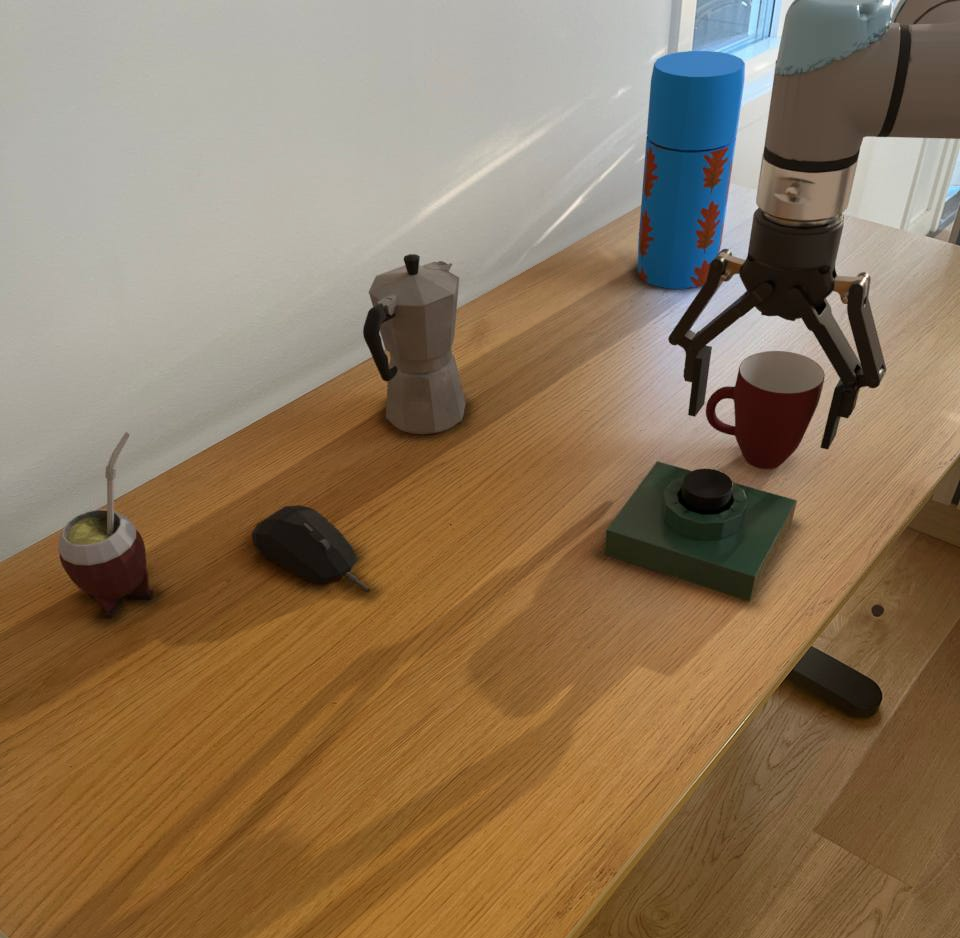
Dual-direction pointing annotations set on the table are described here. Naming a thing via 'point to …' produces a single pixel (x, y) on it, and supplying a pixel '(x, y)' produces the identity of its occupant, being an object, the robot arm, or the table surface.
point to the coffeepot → (417, 345)
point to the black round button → (706, 491)
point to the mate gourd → (106, 551)
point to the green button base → (700, 533)
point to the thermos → (688, 165)
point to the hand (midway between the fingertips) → (760, 425)
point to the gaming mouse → (306, 545)
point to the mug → (770, 405)
